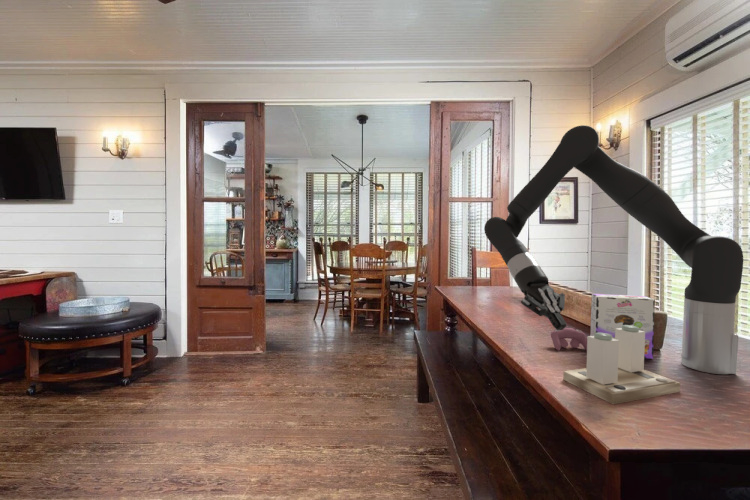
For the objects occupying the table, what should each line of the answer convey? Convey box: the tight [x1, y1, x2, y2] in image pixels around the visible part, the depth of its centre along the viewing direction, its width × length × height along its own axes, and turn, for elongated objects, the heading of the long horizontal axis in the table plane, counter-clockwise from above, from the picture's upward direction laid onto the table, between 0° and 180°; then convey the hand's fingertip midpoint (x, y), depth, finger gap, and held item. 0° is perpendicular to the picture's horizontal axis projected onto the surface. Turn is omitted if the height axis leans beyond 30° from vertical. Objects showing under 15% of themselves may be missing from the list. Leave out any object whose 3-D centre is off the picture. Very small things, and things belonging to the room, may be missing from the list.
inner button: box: [615, 325, 645, 372], centre depth 81 cm, size 4×4×10 cm
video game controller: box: [550, 327, 588, 352], centre depth 102 cm, size 10×5×7 cm, turn 85°
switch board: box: [563, 367, 681, 405], centre depth 77 cm, size 12×19×2 cm, turn 107°
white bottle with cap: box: [585, 332, 619, 385], centre depth 74 cm, size 4×4×10 cm
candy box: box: [589, 293, 656, 360], centre depth 98 cm, size 14×6×16 cm, turn 71°
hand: (562, 328), depth 84 cm, fingers closed
